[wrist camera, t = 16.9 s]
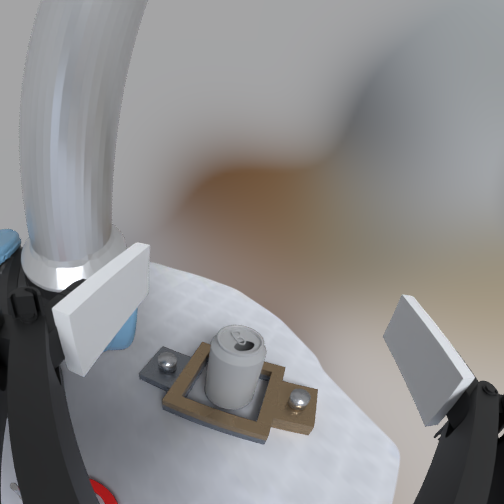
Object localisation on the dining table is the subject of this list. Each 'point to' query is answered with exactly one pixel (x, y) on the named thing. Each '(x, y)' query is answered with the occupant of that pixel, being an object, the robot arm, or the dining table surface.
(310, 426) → the chain end upper
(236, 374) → the can
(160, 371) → the chain end lower
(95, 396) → the dining table surface
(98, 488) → the tow hook
